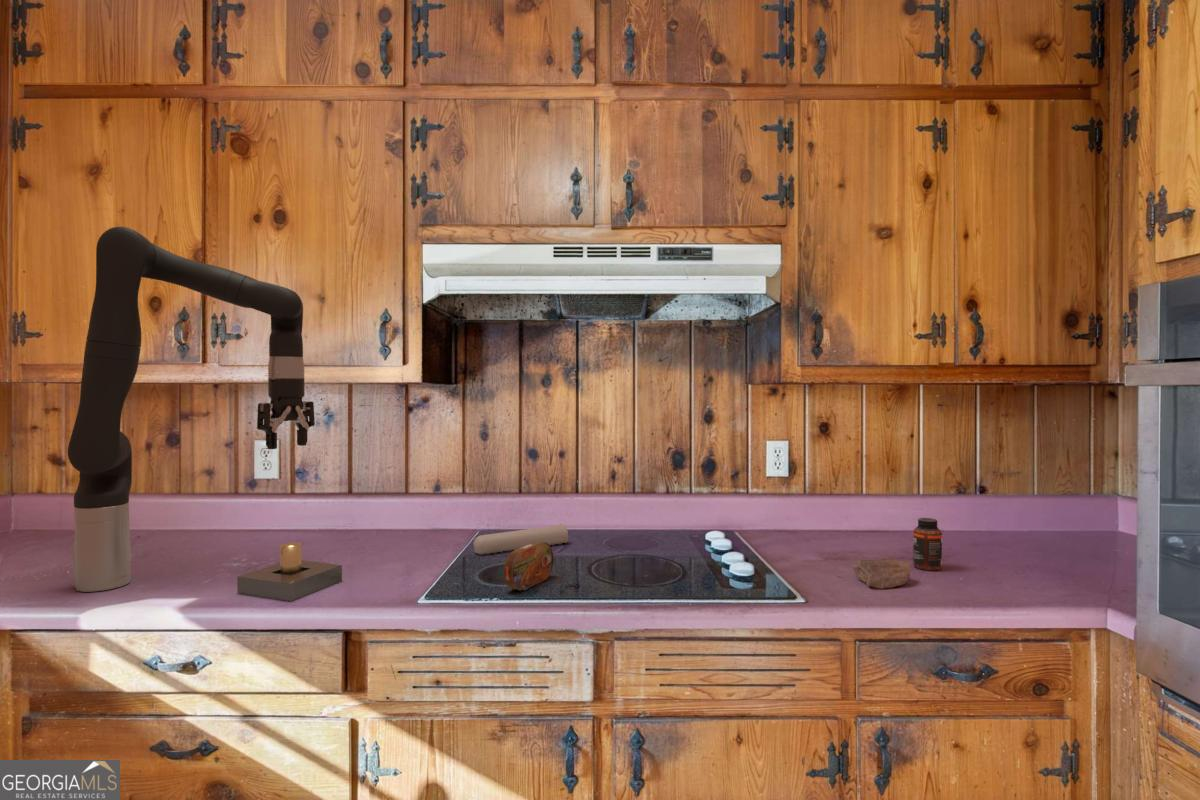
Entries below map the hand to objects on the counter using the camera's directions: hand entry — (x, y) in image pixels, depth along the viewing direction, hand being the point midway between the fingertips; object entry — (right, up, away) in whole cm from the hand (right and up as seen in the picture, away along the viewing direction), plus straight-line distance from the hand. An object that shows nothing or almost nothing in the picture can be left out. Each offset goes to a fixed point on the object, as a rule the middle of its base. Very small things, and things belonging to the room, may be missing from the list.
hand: (287, 447), depth 150 cm
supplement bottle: (+148, -28, +1) cm, 151 cm away
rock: (+132, -29, -10) cm, 136 cm away
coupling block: (+7, -28, -14) cm, 32 cm away
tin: (+57, -29, -12) cm, 65 cm away
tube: (+52, -28, +18) cm, 62 cm away
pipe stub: (+7, -28, -14) cm, 32 cm away
